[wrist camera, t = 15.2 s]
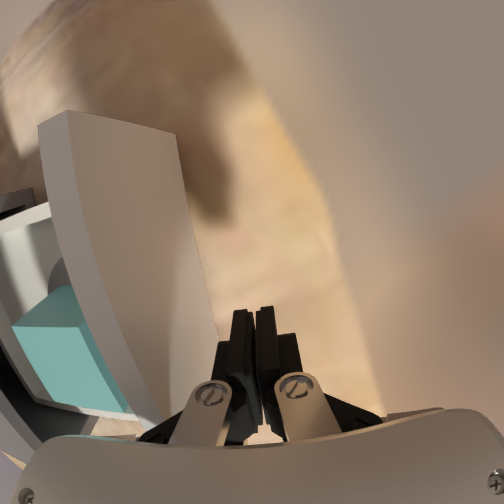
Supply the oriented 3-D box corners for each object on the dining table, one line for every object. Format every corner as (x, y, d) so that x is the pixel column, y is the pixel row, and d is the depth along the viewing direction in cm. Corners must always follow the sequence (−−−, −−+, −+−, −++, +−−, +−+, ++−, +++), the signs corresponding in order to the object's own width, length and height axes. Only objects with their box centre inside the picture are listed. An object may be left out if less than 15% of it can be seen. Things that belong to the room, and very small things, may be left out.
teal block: (152, 353, 16) (124, 413, 11) (89, 352, 16) (54, 401, 11) (125, 277, 14) (78, 327, 9) (60, 285, 14) (11, 326, 10)
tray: (237, 403, 19) (229, 512, 10) (59, 393, 20) (18, 458, 11) (175, 134, 13) (66, 109, 5) (-18, 208, 14) (-100, 242, 6)
